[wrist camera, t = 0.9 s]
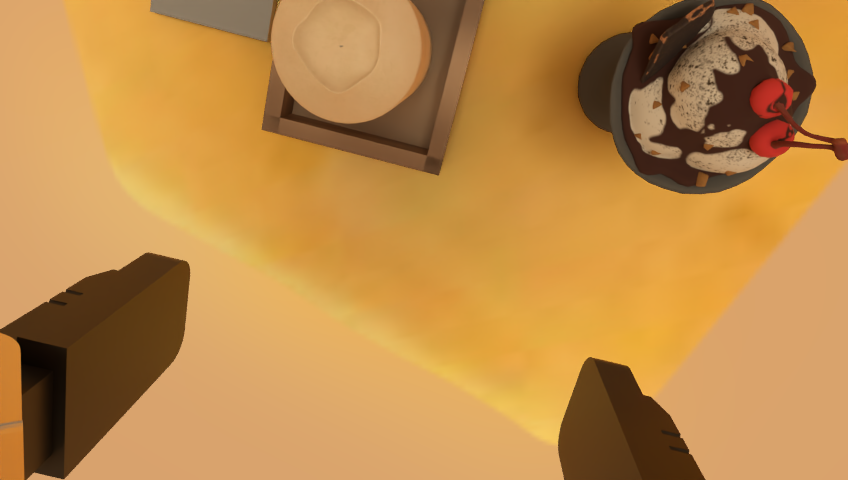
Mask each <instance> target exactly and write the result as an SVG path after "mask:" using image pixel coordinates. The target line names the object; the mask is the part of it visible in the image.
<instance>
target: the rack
mask: <svg viewBox="0 0 848 480" xmlns="http://www.w3.org/2000/svg"><path fill="white" fill-rule="evenodd" d="M484 1H485V0H411V2H412V3H413V4H414V5H415V6H416V7H417V8H418V10H419V11H420V12H421V14H422V15H423V17H424V19H425V21H426V23H427V25H428V28H429V31H430V34H431V39H432V59H431V64H430V67H429V70H428V73H427V75H426V77H425V79H424V81H423V82H422V83H421V85H420V86H419V87H418V88H417V90H416V91H415V92H414V93H413V94H411V95H410V96H409V97H408V98H406V99H405V100H404V101H402V102H401V103H400V104H398V105H397V106H396V107H394V108H393V109H392V110H390V111H389V112H387V113H385V114H384V115H382V116H380V117H378V118H376V119H373V120H370V121H366V122H361V123H351V124H345V123H337V122H333V121H329V120H325V119H323V118H321V117H318V116H316V115H314V114H313V113H311V112H309V111H308V110H306V109H305V108H304V107H302V106H301V105H300V104H299V103H298V102H297V101H296V100H295V99H294V98H293V97H292V96H291V95H290V93H289V92H288V91H287V89H286V88H285V86H284V85H283V83H282V81H281V79H280V77H279V75H278V73H277V70H276V67H275V64H274V61H272V67H271V73H270V80H269V86H268V92H267V99H266V105H265V111H264V117H263V124H262V130H265V131H269V132H273V133H277V134H281V135H285V136H288V137H292V138H296V139H300V140H304V141H308V142H312V143H315V144H319V145H323V146H327V147H331V148H335V149H339V150H343V151H346V152H350V153H354V154H358V155H362V156H366V157H370V158H373V159H377V160H381V161H385V162H389V163H393V164H397V165H401V166H404V167H408V168H412V169H416V170H420V171H424V172H428V173H431V174H435V175H439V173H440V169H441V165H442V161H443V158H444V154H445V150H446V146H447V142H448V138H449V135H450V131H451V127H452V123H453V119H454V115H455V112H456V108H457V104H458V100H459V96H460V92H461V89H462V85H463V81H464V77H465V73H466V69H467V66H468V62H469V58H470V54H471V50H472V46H473V43H474V39H475V35H476V31H477V27H478V24H479V20H480V16H481V12H482V8H483V4H484Z"/></svg>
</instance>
